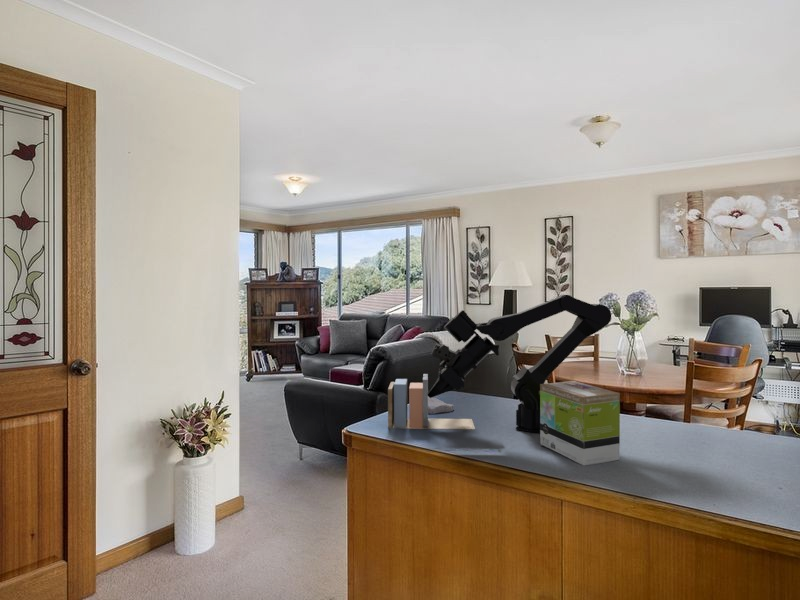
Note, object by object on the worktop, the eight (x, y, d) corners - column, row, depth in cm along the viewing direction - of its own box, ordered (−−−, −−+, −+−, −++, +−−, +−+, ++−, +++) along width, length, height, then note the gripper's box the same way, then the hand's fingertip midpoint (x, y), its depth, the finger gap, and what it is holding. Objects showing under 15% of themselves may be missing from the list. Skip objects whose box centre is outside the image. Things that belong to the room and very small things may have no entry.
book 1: (407, 419, 137) (407, 378, 137) (405, 427, 129) (405, 384, 129) (396, 419, 137) (396, 378, 137) (394, 427, 129) (394, 384, 129)
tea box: (538, 445, 117) (538, 382, 117) (573, 441, 120) (573, 379, 120) (583, 467, 103) (583, 395, 103) (621, 460, 106) (621, 391, 106)
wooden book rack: (471, 423, 137) (471, 382, 136) (475, 433, 127) (475, 389, 127) (391, 422, 138) (391, 381, 138) (388, 432, 128) (387, 388, 128)
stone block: (436, 412, 157) (409, 409, 153) (439, 397, 157) (412, 394, 153) (457, 423, 146) (428, 420, 142) (460, 406, 147) (431, 403, 142)
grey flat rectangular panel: (427, 417, 137) (427, 373, 137) (427, 426, 128) (427, 379, 128) (423, 417, 137) (423, 373, 137) (423, 426, 128) (422, 379, 128)
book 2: (423, 419, 136) (423, 382, 136) (422, 427, 128) (422, 388, 128) (410, 419, 137) (410, 382, 137) (409, 427, 129) (409, 388, 129)
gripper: (448, 330, 141) (408, 369, 142) (450, 336, 122) (405, 381, 123) (476, 358, 141) (436, 397, 141) (483, 369, 122) (437, 413, 123)
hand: (428, 396), depth 132 cm, fingers closed, pressing on grey flat rectangular panel
